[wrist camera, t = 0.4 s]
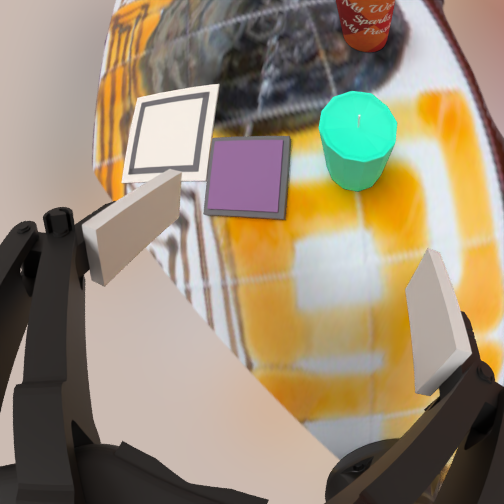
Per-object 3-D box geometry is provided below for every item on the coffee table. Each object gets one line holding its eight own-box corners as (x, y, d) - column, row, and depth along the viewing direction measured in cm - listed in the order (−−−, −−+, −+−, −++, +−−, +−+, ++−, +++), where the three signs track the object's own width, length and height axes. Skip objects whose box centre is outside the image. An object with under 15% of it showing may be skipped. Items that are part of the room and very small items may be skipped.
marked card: (206, 181, 35) (205, 180, 34) (123, 183, 38) (121, 182, 38) (219, 84, 34) (218, 83, 34) (138, 98, 38) (137, 97, 38)
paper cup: (344, 62, 30) (335, -22, 16) (328, 21, 30) (312, -57, 17) (403, 56, 28) (418, -23, 14) (383, 16, 28) (385, -60, 14)
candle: (348, 202, 30) (352, 172, 18) (315, 157, 31) (299, 107, 19) (393, 171, 29) (418, 127, 17) (359, 128, 30) (363, 68, 18)
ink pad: (285, 219, 32) (282, 218, 31) (207, 215, 35) (201, 213, 33) (291, 139, 32) (288, 134, 30) (215, 140, 34) (210, 136, 33)
